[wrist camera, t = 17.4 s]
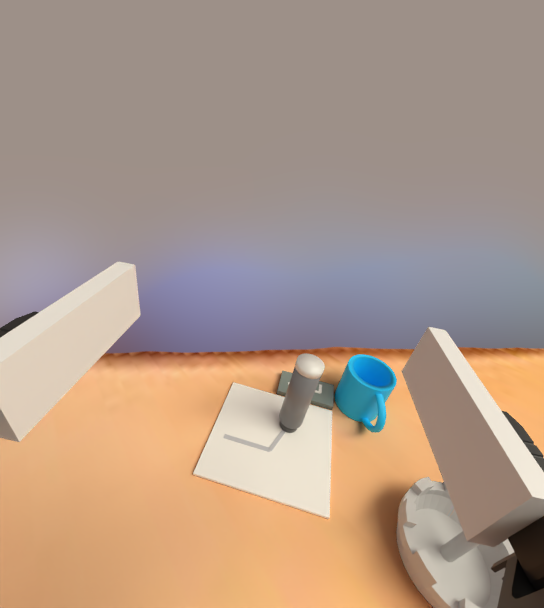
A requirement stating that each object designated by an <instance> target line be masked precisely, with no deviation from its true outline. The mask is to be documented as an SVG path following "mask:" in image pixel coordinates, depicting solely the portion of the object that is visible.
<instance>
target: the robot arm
mask: <svg viewBox="0 0 544 608" xmlns="http://www.w3.org/2000/svg"><path fill="white" fill-rule="evenodd" d="M139 316H140V306H139V298H138V288H137V280H136V270H135V265H133V264H128V263H123V262H117V263H115V264H113V265H112V266H110V267H109V268H107V269H106V270H104V271H103V272H101V273H100V274H98V275H97V276H95V277H93V278H92V279H90V280H89V281H87V282H86V283H84V284H83V285H81V286H79V287H78V288H77V289H75V290H73V291H72V292H70V293H69V294H67V295H65V296H64V297H62V298H61V299H59V300H58V301H56V302H55V303H53V304H52V305H50V306H49V307H47V308H45V309H44V310H42V311H41V312H32V313H30V314H27V315H25V316H22V317H19V318H16V319H14V320H13V321H11V322H9V323H8V324H6V325H5V326H3V327H1V328H0V438H4V439H8V440H13V441H17V442H20V441H21V440H22V439H23V438H24V437H25V436H26V435H27V434H28V433H29V432H30V430H31V429H32V428H33V427H34V426H35V425H36V424H37V423H38V422H39V421H40V420H41V419H42V418H43V417H44V416H45V415H46V414H47V413H48V412H49V411H50V410H51V409H52V407H53V406H54V405H55V404H56V403H57V402H58V401H59V400H60V399H61V398H62V397H63V396H64V395H65V394H66V393H67V392H68V391H69V390H70V389H71V388H72V387H73V386H74V384H75V383H76V382H77V381H78V380H79V379H80V378H81V377H82V376H83V375H84V374H85V373H86V372H87V371H88V370H89V369H90V368H91V367H92V366H93V365H94V364H95V363H96V361H97V360H98V359H99V358H100V357H101V356H102V355H103V354H104V353H105V352H106V351H107V350H108V349H109V348H110V347H111V346H112V345H113V344H114V343H115V341H116V340H117V339H118V338H119V337H120V336H121V335H122V334H123V333H124V332H125V331H126V330H127V329H128V328H129V327H130V326H131V325H132V324H133V323H134V322H135V321H136V320H137V319H138V318H139ZM402 373H403V376H404V378H405V381H406V384H407V386H408V389H409V391H410V394H411V397H412V399H413V402H414V404H415V407H416V410H417V412H418V415H419V417H420V420H421V423H422V425H423V428H424V430H425V433H426V436H427V438H428V441H429V443H430V446H431V449H432V451H433V454H434V456H435V459H436V462H437V464H438V467H439V470H440V472H441V475H442V477H443V480H444V483H445V485H446V488H447V490H448V493H449V496H450V498H451V501H452V503H453V506H454V509H455V511H456V514H457V516H458V519H459V522H460V524H461V527H462V529H463V532H464V535H465V537H466V540H467V541H468V542H472V543H477V544H481V545H486V546H490V547H495V546H497V545H499V544H500V543H502V542H504V541H505V540H507V539H508V540H509V542H510V544H511V546H512V548H513V550H514V553H512V554H510V555H508V556H506V557H505V558H503V559H501V560H499V561H497V562H496V563H494V564H493V566H492V567H491V570H492V571H493V572H495V573H496V572H497V571H499V570H501V569H503V568H505V573H504V577H502V580H503V582H502V587H501V592H500V597H499V601H498V606H497V608H544V458H543V454H542V453H541V452H540V450H539V449H538V448H537V446H535V445H534V442H533V441H532V439H531V438H530V437H529V435H528V434H527V432H526V431H525V430H524V428H523V427H522V426H521V425H520V424H519V423H518V422H517V421H516V420H515V419H514V418H512V417H511V416H510V415H509V414H508V413H507V412H504V411H501V410H500V408H499V407H498V405H497V404H496V402H495V401H494V400H493V398H492V397H491V395H490V394H489V392H488V391H487V389H486V388H485V387H484V385H483V384H482V382H481V381H480V379H479V378H478V376H477V375H476V374H475V372H474V371H473V369H472V368H471V366H470V365H469V363H468V362H467V361H466V359H465V358H464V356H463V355H462V353H461V352H460V350H459V349H458V348H457V346H456V345H455V343H454V342H453V340H452V339H451V337H450V336H449V335H448V333H447V332H446V331H445V330H441V329H436V328H431V327H428V328H427V330H426V332H425V333H424V335H423V337H422V338H421V340H420V342H419V343H418V345H417V347H416V348H415V350H414V352H413V353H412V355H411V357H410V358H409V360H408V362H407V363H406V365H405V367H404V368H403V370H402Z"/></svg>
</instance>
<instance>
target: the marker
mask: <svg viewBox="0 0 544 608" xmlns="http://www.w3.org/2000/svg"><path fill="white" fill-rule="evenodd" d="M324 369H325V365H324V363H323V361H322V360H321V359H320V358H318V357H317V356H314V355H312V354H301V355H299V356H298V358H297V361H296V364H295V368H294V371H293V374H292V377H291V380H290V383H289V386H288V389H287V392H286V395H285V398H284V401H283V404H282V407H281V410H280V413H279V419H280V422H279V424H280V427H281V428H282V430H284V431H285V432H288V433H293V432H295V431H296V430H297V428H299V427H300V426H301V425H302V423H303V420H304V418H305V415H306V413H307V410H308V408H309V405H310V403H311V400H312V398H313V395H314V393H315V390H316V388H317V385H318V383H319V380H320V378H321V376H322V374H323V371H324Z"/></svg>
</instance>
